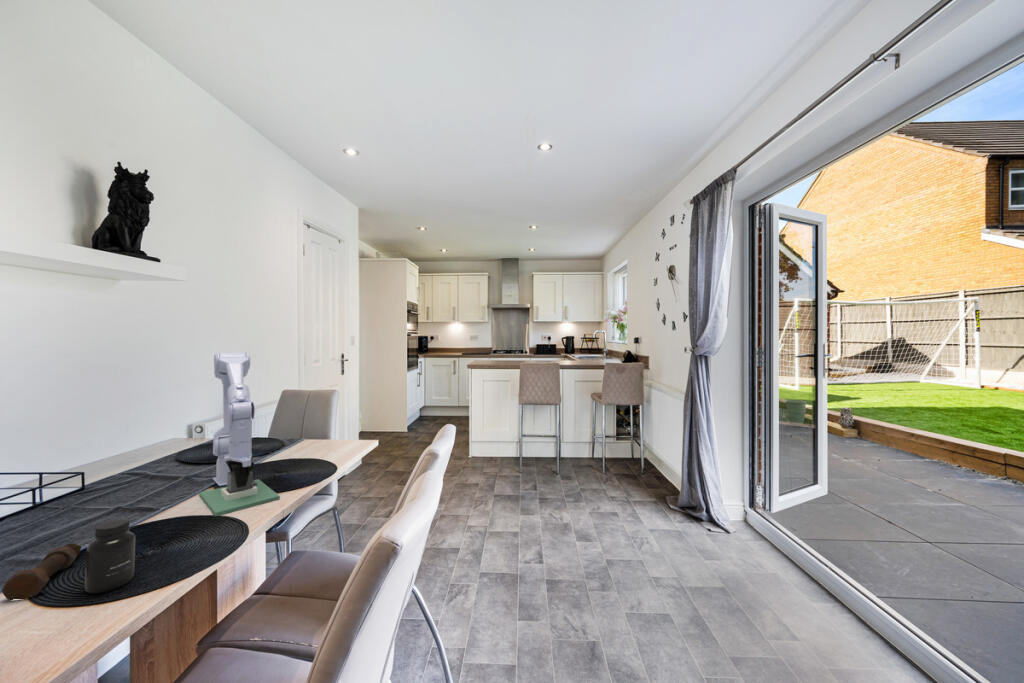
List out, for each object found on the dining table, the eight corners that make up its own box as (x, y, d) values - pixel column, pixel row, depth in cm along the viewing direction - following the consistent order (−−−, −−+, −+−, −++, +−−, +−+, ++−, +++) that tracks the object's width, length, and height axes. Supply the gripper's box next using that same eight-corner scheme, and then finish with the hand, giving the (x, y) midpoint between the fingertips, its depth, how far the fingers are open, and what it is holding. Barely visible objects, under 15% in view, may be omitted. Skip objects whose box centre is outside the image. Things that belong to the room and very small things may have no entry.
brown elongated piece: (76, 565, 85) (27, 606, 72) (49, 558, 84) (-7, 599, 70) (95, 540, 87) (50, 575, 73) (68, 532, 85) (17, 567, 71)
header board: (199, 495, 119) (199, 486, 119) (258, 482, 131) (258, 473, 131) (215, 516, 106) (215, 506, 106) (279, 499, 118) (279, 490, 118)
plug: (227, 491, 118) (227, 472, 117) (249, 486, 122) (249, 467, 122) (230, 495, 115) (231, 475, 115) (253, 489, 119) (253, 470, 119)
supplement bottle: (119, 591, 74) (121, 530, 74) (74, 597, 72) (76, 534, 72) (142, 571, 81) (143, 514, 81) (101, 575, 79) (102, 518, 79)
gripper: (218, 438, 120) (217, 481, 120) (231, 448, 110) (230, 494, 110) (245, 434, 125) (244, 476, 125) (259, 443, 116) (258, 488, 116)
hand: (239, 484), depth 118 cm, fingers closed on plug, 4 cm apart
